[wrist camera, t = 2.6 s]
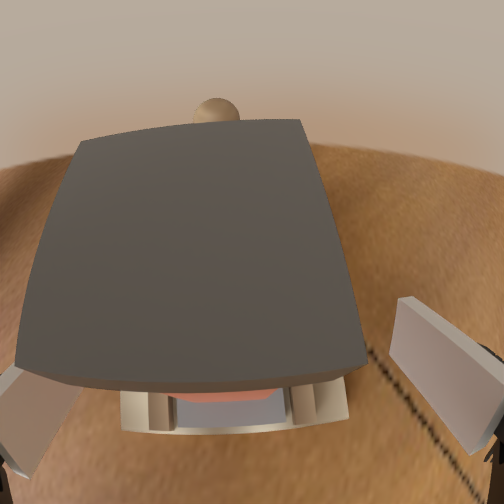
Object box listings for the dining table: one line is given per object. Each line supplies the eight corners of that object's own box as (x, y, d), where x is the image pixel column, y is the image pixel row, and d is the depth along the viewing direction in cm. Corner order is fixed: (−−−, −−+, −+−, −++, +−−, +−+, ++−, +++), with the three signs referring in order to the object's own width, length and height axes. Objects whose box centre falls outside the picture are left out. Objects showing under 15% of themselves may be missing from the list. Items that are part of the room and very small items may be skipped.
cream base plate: (129, 429, 16) (113, 430, 13) (151, 173, 28) (145, 153, 25) (341, 418, 16) (355, 418, 14) (292, 164, 28) (295, 143, 26)
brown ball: (194, 153, 22) (188, 115, 19) (197, 127, 23) (192, 92, 20) (241, 150, 22) (240, 111, 19) (238, 124, 24) (238, 89, 21)
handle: (181, 426, 15) (-11, 427, 2) (179, 318, 18) (75, 120, 6) (314, 417, 15) (507, 391, 3) (299, 310, 19) (380, 102, 6)
